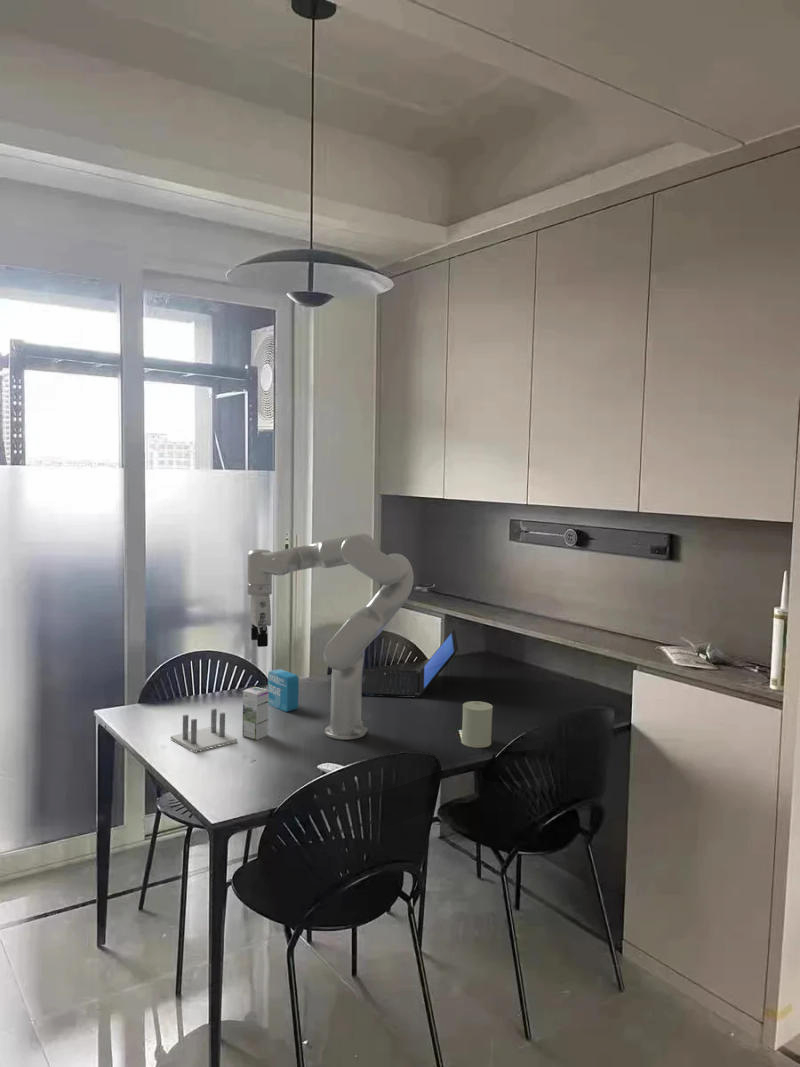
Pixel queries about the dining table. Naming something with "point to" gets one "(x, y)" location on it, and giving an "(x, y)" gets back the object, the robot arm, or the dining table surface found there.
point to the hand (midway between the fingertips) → (259, 643)
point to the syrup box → (255, 712)
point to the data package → (283, 690)
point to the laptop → (409, 674)
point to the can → (477, 724)
